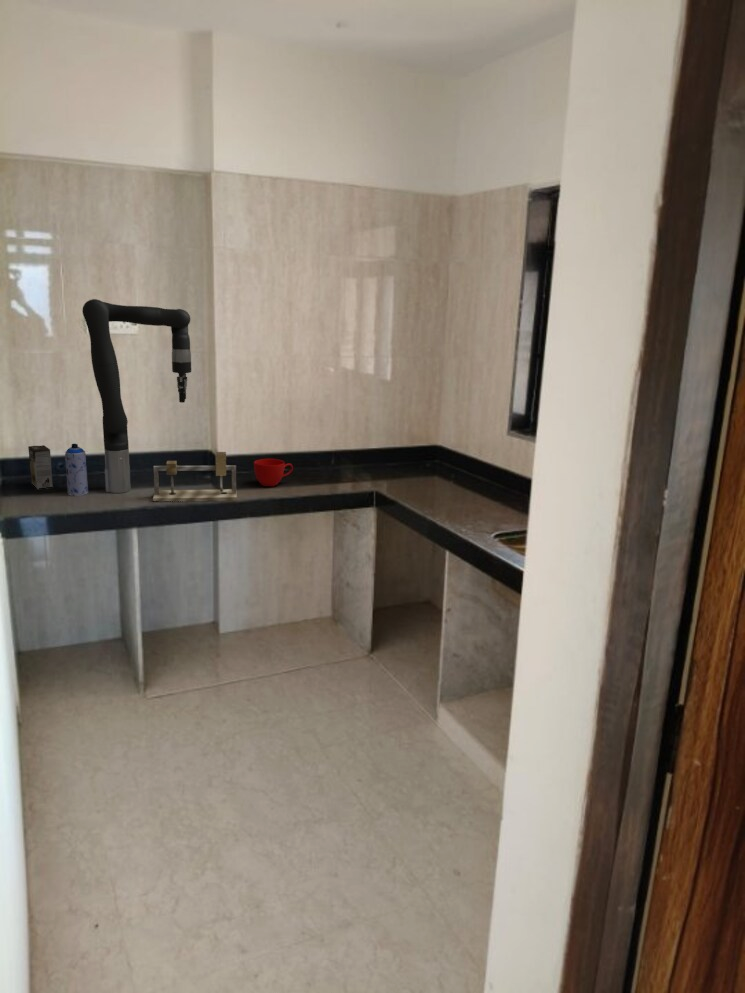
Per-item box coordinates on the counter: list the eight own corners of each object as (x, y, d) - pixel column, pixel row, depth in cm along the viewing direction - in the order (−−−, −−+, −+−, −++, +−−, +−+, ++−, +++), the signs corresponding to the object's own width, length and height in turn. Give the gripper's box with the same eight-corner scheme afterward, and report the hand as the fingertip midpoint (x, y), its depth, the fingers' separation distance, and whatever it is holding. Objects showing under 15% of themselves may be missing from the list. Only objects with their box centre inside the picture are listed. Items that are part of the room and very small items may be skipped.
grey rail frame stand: (153, 502, 290) (151, 465, 286) (155, 493, 301) (154, 458, 297) (236, 500, 296) (236, 465, 292) (236, 492, 307) (236, 458, 303)
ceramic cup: (296, 487, 320) (297, 464, 317) (257, 489, 314) (257, 466, 311) (288, 479, 331) (288, 457, 329) (251, 481, 325) (250, 459, 322)
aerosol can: (67, 491, 299) (63, 442, 294) (88, 490, 302) (85, 441, 297) (67, 496, 292) (63, 446, 287) (88, 495, 295) (85, 445, 290)
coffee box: (31, 484, 307) (27, 446, 303) (47, 482, 311) (44, 444, 307) (36, 489, 300) (33, 450, 296) (53, 487, 304) (50, 448, 300)
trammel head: (216, 493, 297) (215, 454, 293) (216, 489, 302) (215, 451, 297) (226, 493, 298) (225, 454, 293) (226, 489, 302) (225, 451, 298)
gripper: (173, 358, 305) (174, 398, 310) (170, 362, 292) (172, 403, 296) (191, 358, 307) (192, 398, 311) (190, 362, 293) (191, 403, 298)
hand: (182, 400), depth 304 cm, fingers open, 8 cm apart
